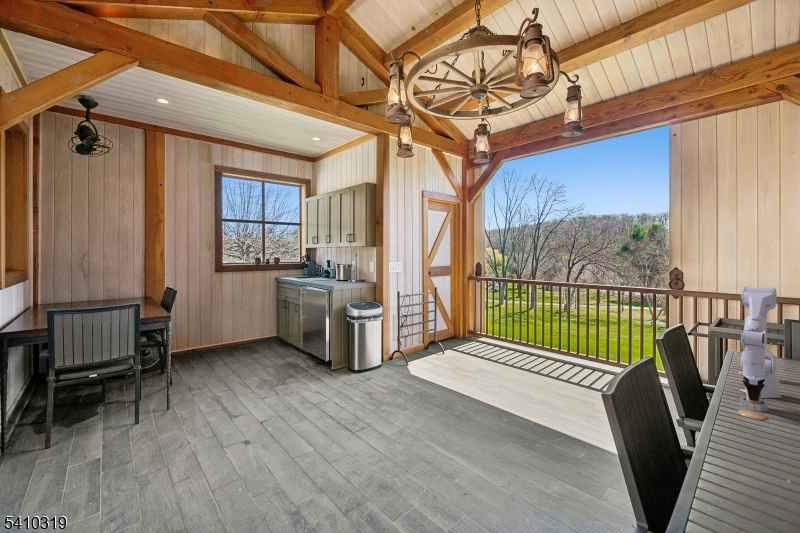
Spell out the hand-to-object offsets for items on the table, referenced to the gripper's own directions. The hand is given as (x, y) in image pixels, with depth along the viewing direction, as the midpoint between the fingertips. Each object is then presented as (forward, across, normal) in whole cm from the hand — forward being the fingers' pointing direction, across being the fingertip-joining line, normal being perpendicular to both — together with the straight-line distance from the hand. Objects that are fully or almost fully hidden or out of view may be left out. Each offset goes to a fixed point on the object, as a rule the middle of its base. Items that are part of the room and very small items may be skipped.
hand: (753, 398), depth 127 cm
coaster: (+3, +10, 0) cm, 10 cm away
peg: (+3, 0, 0) cm, 3 cm away
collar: (+3, 0, 0) cm, 3 cm away
